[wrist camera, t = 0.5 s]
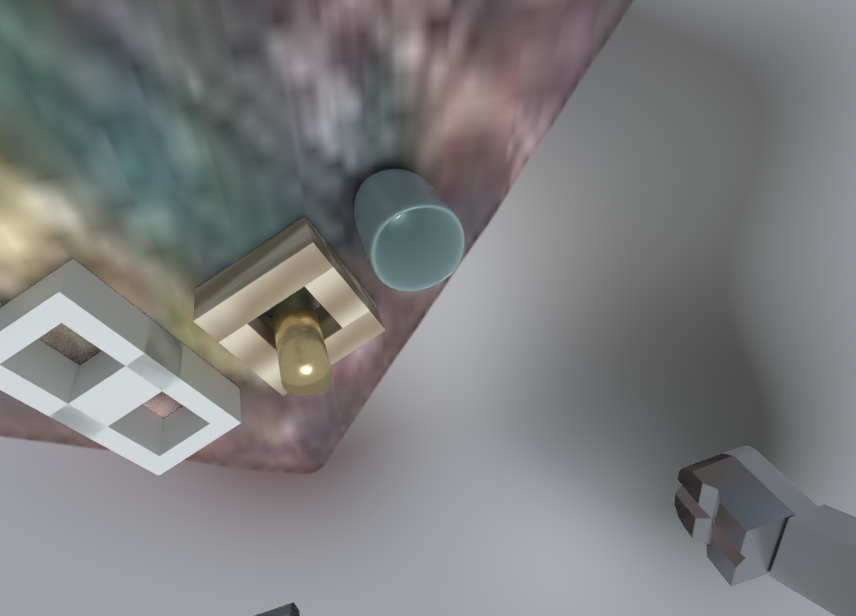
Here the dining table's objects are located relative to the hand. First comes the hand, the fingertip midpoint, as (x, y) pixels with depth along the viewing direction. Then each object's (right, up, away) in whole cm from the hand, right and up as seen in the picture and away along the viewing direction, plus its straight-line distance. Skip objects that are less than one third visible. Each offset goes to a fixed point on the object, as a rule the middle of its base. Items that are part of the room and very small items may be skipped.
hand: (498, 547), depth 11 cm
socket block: (-15, +6, +40) cm, 43 cm away
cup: (-5, +15, +38) cm, 41 cm away
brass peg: (-15, +6, +40) cm, 43 cm away
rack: (-30, 0, +39) cm, 49 cm away
